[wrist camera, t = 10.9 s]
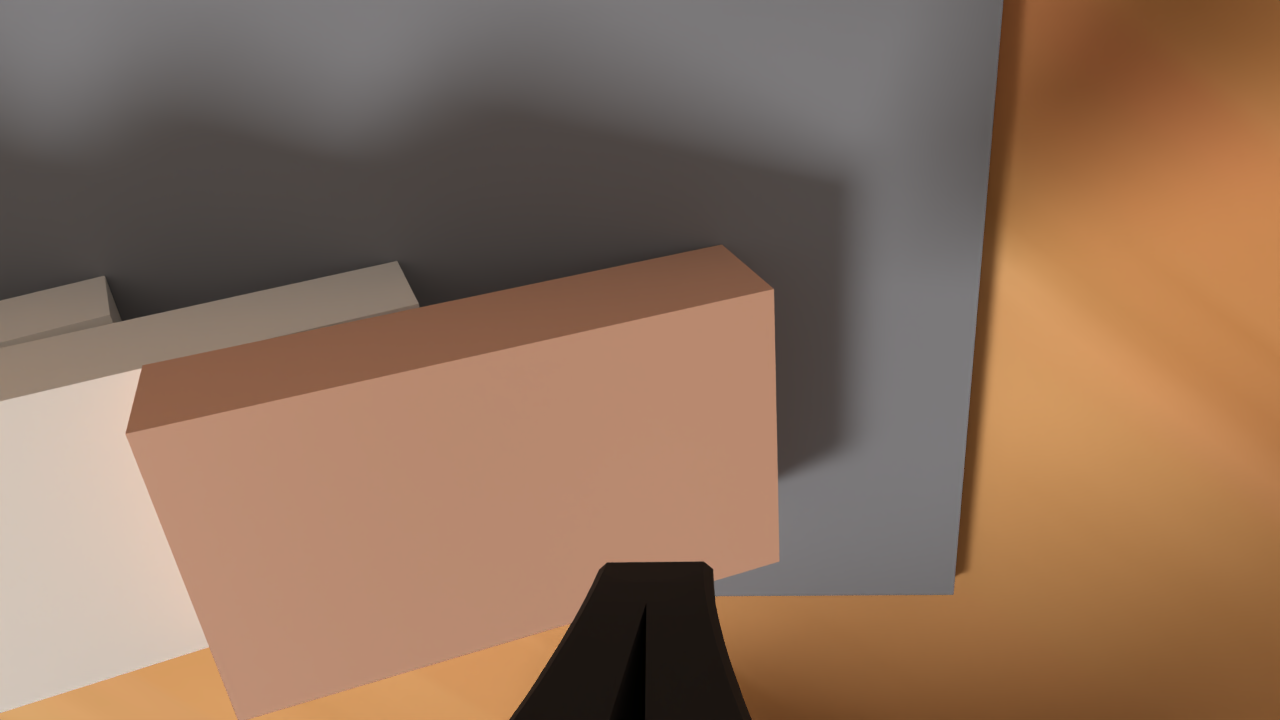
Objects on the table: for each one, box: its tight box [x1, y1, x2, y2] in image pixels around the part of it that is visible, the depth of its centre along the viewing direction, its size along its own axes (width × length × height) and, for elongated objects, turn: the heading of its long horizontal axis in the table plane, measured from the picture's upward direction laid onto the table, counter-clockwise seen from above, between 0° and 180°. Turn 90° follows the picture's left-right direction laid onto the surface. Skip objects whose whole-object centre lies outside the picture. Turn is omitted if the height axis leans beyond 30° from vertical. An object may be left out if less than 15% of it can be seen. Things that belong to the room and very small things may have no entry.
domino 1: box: [0, 261, 420, 713], centre depth 16 cm, size 2×5×9 cm
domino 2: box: [125, 245, 780, 720], centre depth 16 cm, size 2×5×9 cm
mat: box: [0, 0, 1003, 596], centre depth 18 cm, size 31×16×1 cm, turn 95°
